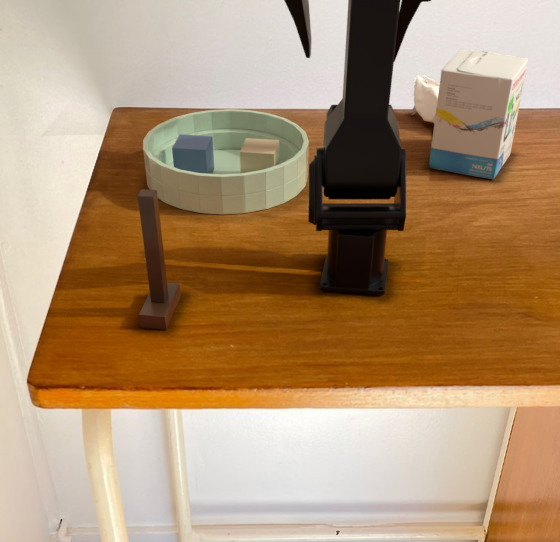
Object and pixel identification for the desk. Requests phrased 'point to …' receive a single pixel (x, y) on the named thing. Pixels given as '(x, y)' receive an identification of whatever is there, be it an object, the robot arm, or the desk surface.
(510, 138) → the ink box
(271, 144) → the cream block
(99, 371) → the desk surface
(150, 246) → the block-headed hammer
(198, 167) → the slate block
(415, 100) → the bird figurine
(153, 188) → the bowl
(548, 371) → the desk surface
